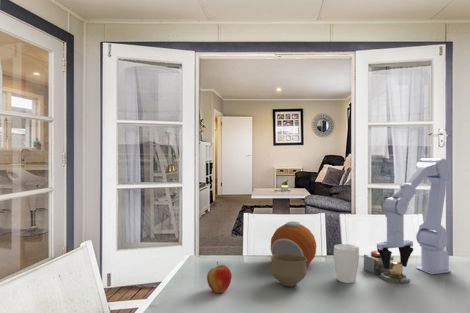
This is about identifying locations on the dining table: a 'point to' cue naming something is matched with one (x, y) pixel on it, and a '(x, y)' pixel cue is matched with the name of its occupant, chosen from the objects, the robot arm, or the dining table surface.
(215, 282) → the apple
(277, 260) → the bowl
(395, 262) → the knob
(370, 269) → the red button switch
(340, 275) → the cup
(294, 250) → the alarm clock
